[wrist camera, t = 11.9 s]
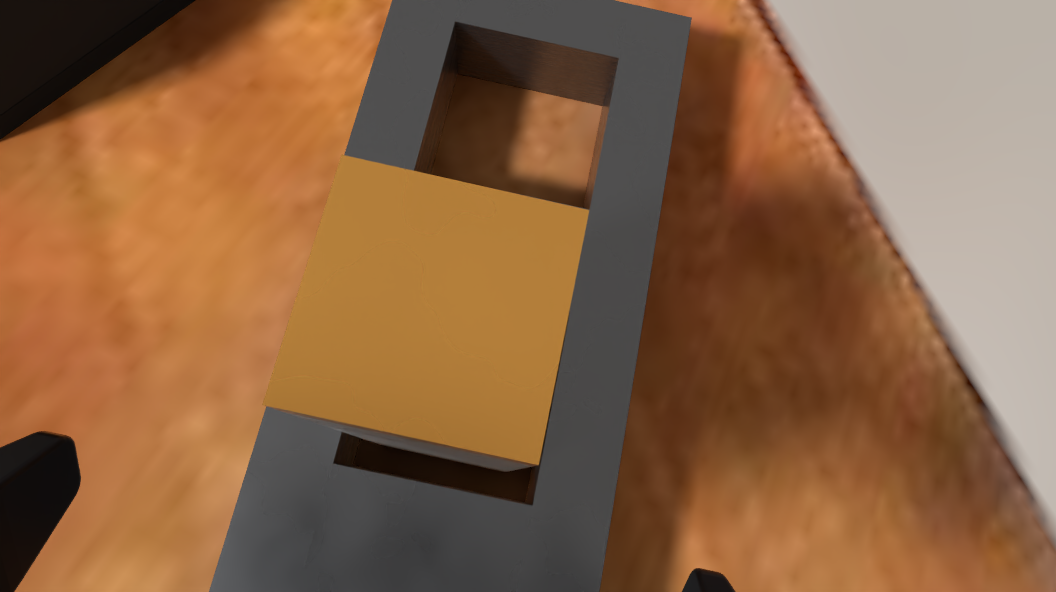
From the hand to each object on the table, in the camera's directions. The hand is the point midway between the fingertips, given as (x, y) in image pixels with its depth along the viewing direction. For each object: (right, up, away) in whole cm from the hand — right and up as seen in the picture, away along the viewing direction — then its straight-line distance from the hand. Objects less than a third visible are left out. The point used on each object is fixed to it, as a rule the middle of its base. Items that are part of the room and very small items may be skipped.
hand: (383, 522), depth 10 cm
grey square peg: (0, 0, +12) cm, 12 cm away
